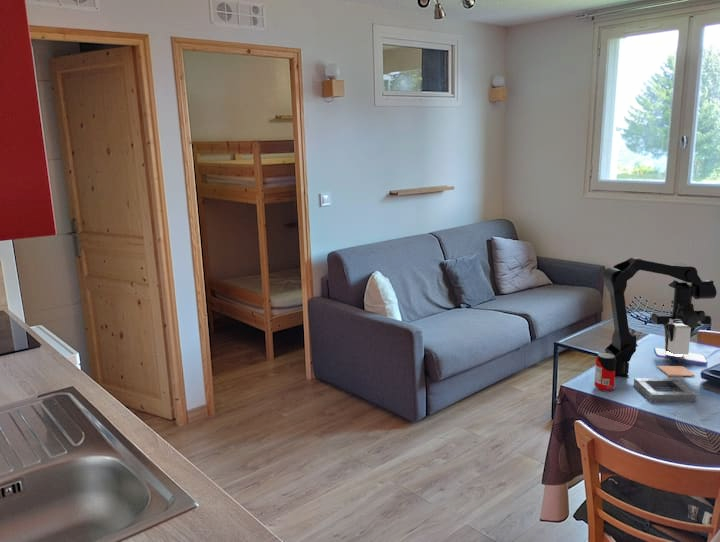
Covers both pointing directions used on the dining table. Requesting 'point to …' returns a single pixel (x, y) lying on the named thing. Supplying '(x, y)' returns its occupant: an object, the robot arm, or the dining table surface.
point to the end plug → (680, 339)
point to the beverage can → (605, 371)
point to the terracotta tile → (675, 371)
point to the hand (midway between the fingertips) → (678, 341)
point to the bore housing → (678, 396)
